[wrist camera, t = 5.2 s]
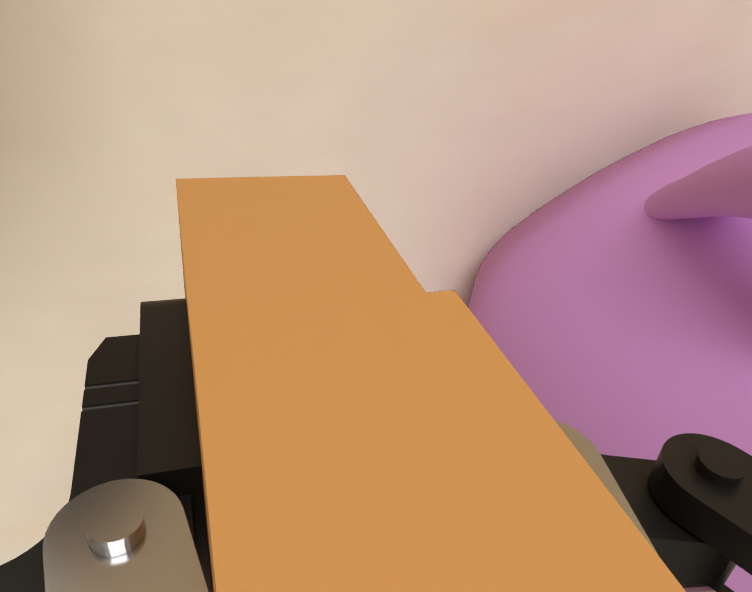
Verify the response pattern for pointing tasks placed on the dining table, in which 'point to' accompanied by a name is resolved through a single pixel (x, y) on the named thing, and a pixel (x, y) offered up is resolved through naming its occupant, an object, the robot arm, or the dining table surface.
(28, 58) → the dining table surface
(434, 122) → the dining table surface
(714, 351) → the teapot
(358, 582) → the orange block
